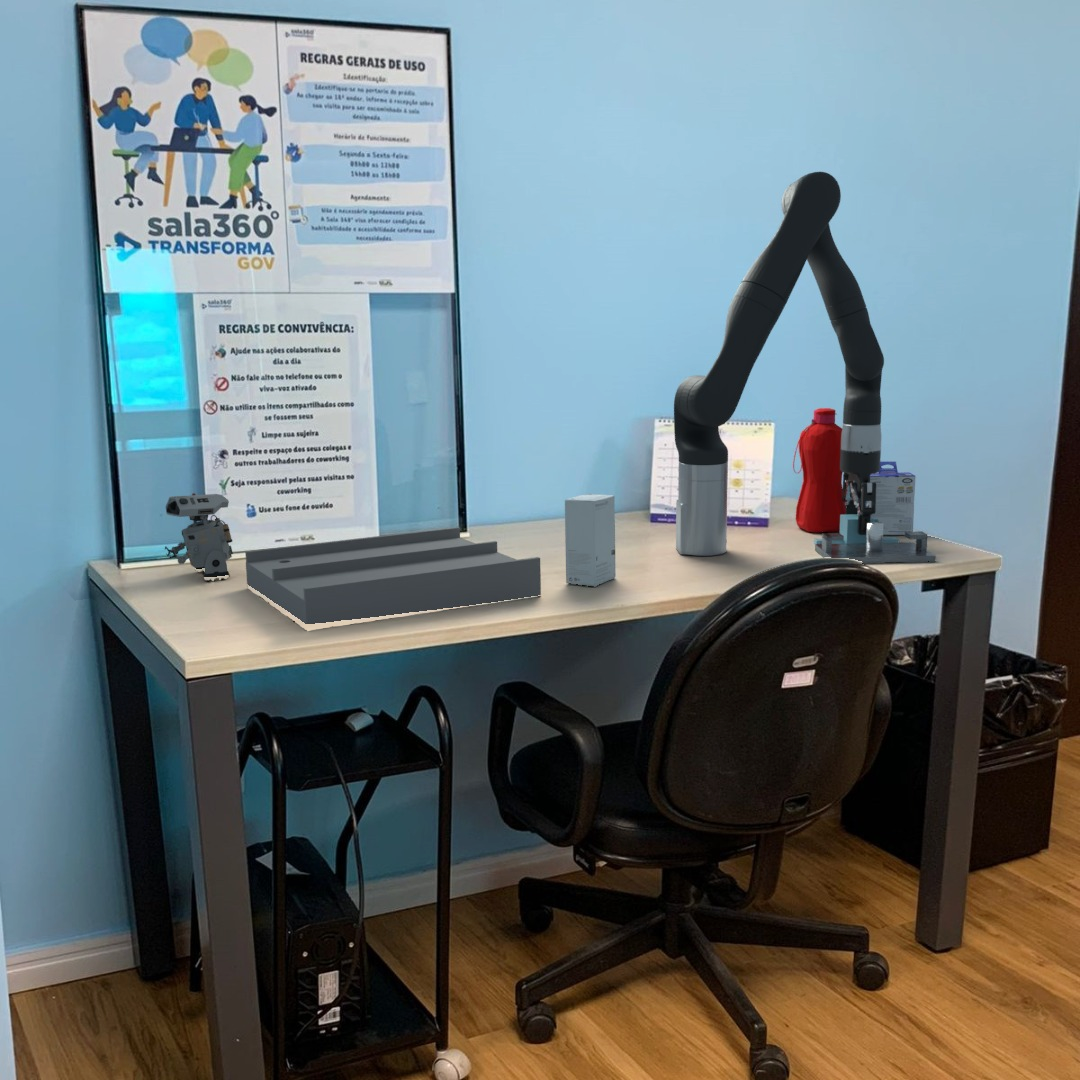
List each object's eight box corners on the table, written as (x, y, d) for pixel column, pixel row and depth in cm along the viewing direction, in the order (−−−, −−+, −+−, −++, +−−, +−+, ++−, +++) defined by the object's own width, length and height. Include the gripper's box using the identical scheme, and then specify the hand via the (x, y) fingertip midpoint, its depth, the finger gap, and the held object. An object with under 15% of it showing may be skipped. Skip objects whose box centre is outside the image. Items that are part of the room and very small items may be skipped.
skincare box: (595, 588, 208) (594, 501, 205) (563, 584, 211) (562, 498, 208) (617, 577, 215) (616, 493, 212) (586, 574, 218) (585, 491, 215)
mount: (831, 564, 223) (833, 530, 222) (814, 550, 235) (816, 518, 234) (935, 562, 224) (937, 528, 223) (913, 548, 236) (914, 516, 234)
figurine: (162, 575, 221) (156, 493, 218) (227, 568, 226) (222, 488, 223) (171, 586, 213) (165, 500, 210) (238, 578, 218) (233, 495, 215)
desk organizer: (540, 599, 203) (540, 557, 201) (307, 634, 184) (304, 589, 182) (458, 563, 230) (457, 526, 228) (247, 591, 211) (245, 551, 209)
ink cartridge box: (907, 530, 253) (910, 460, 250) (914, 535, 247) (918, 464, 244) (858, 530, 253) (861, 460, 250) (865, 536, 248) (868, 464, 245)
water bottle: (783, 526, 258) (786, 407, 253) (832, 524, 260) (836, 405, 255) (800, 535, 249) (803, 411, 244) (851, 532, 251) (855, 409, 246)
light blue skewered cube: (818, 547, 237) (819, 520, 236) (812, 542, 242) (812, 515, 241) (901, 545, 238) (902, 518, 237) (892, 540, 243) (893, 513, 242)
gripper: (831, 443, 243) (828, 523, 246) (851, 452, 229) (848, 537, 232) (869, 442, 243) (865, 523, 246) (891, 451, 229) (887, 537, 233)
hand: (857, 530), depth 239 cm, fingers open, 8 cm apart
